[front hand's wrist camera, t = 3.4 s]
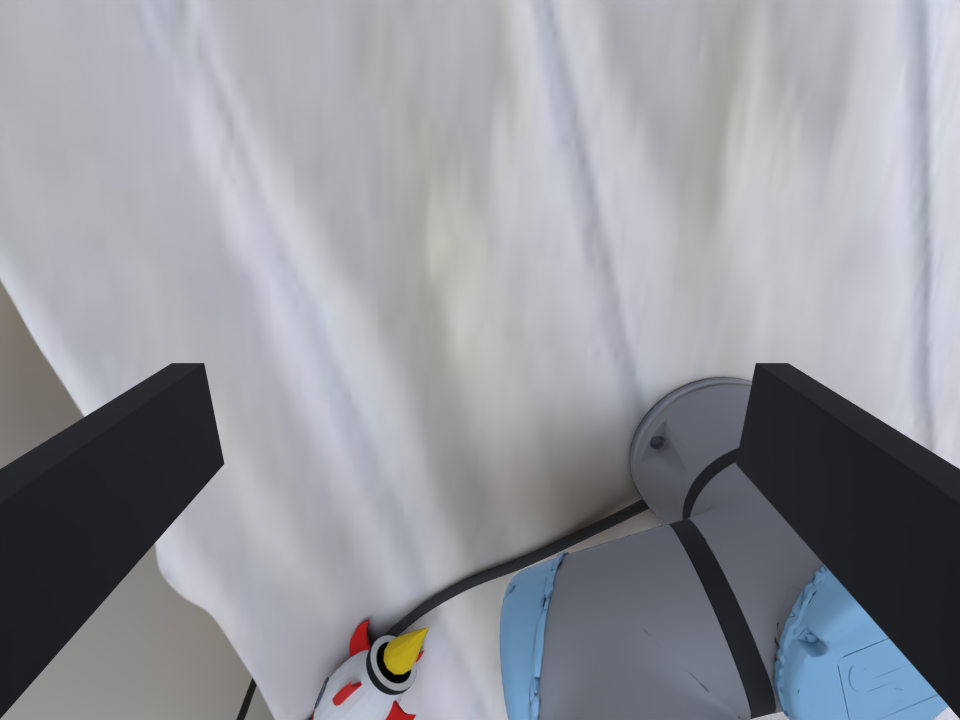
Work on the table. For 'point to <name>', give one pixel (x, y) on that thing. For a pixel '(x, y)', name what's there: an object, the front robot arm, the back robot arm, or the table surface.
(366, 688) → the toy rocket
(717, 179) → the table surface
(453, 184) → the table surface
